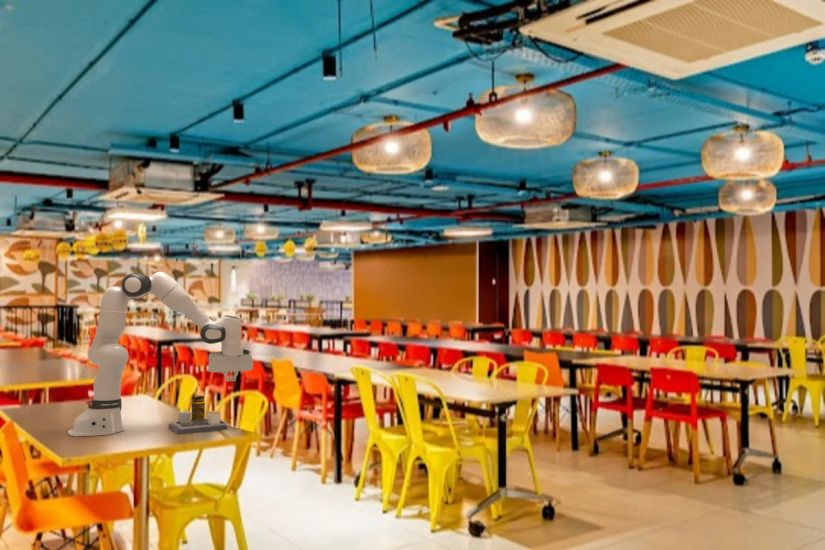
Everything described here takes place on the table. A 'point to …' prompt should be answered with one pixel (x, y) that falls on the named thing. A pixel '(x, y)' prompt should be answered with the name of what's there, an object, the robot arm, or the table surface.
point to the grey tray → (196, 426)
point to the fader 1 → (184, 417)
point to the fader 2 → (213, 417)
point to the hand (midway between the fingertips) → (230, 381)
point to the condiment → (198, 408)
